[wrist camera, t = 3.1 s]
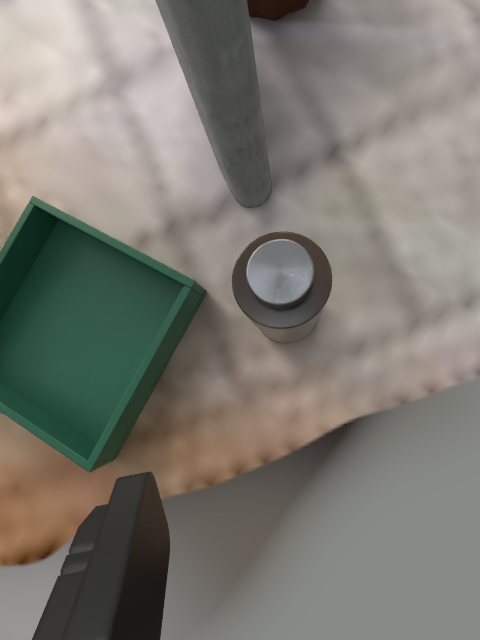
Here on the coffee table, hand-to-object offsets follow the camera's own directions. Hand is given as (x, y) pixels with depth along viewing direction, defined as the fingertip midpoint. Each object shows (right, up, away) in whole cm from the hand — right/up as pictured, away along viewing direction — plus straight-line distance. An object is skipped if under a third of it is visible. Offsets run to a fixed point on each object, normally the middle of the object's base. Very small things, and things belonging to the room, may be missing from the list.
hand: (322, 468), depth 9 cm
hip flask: (-3, +20, +23) cm, 30 cm away
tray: (-15, +3, +22) cm, 27 cm away
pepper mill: (+2, +4, +20) cm, 20 cm away
